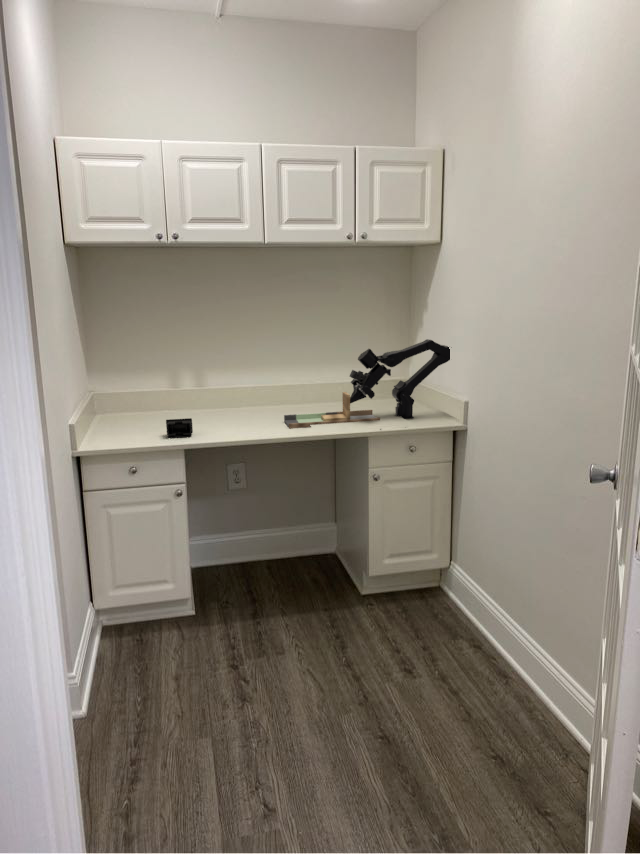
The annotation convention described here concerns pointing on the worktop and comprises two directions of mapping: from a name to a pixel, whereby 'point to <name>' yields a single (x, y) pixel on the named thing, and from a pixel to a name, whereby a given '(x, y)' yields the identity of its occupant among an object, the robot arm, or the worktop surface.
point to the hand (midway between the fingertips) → (348, 402)
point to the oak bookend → (345, 411)
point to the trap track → (317, 416)
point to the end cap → (179, 428)
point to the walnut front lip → (328, 422)
